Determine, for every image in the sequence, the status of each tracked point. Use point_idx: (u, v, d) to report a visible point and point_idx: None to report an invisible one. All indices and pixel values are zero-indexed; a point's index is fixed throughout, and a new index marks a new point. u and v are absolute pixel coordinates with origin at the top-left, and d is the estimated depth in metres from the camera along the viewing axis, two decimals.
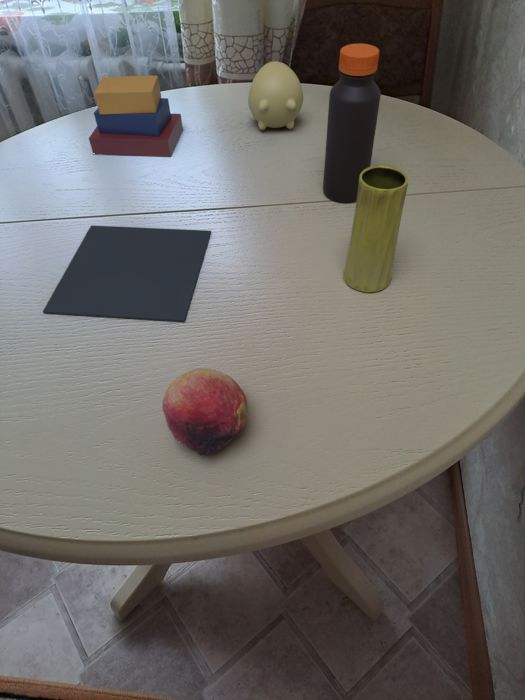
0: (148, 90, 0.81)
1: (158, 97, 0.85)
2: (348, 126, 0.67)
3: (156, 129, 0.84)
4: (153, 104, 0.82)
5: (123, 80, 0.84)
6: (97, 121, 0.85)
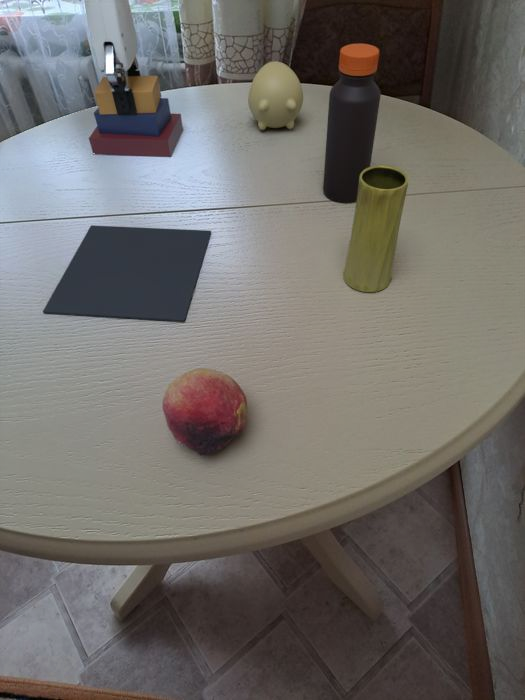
0: (148, 91, 0.81)
1: (158, 97, 0.85)
2: (348, 126, 0.67)
3: (156, 129, 0.84)
4: (153, 104, 0.82)
5: None
6: (97, 121, 0.85)
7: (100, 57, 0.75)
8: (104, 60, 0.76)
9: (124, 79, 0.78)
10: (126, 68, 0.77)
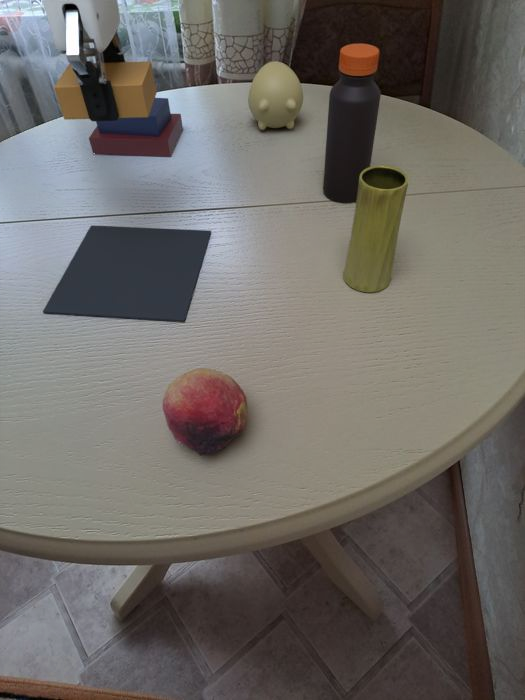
0: (136, 84, 0.53)
1: (152, 94, 0.58)
2: (348, 126, 0.67)
3: (156, 129, 0.84)
4: (144, 104, 0.55)
5: None
6: (97, 121, 0.85)
7: (58, 30, 0.48)
8: (65, 35, 0.48)
9: (98, 65, 0.50)
10: (100, 48, 0.49)
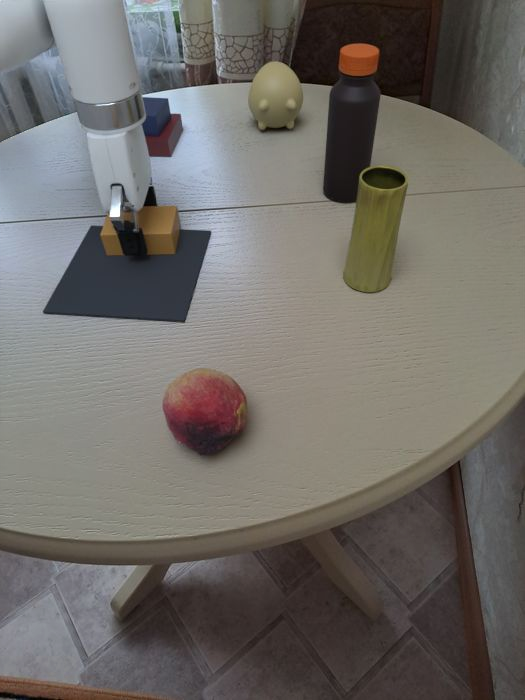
0: (167, 232, 0.66)
1: (177, 231, 0.70)
2: (348, 126, 0.67)
3: (156, 129, 0.84)
4: (172, 246, 0.67)
5: None
6: None
7: (106, 199, 0.60)
8: None
9: (133, 219, 0.62)
10: (138, 209, 0.62)
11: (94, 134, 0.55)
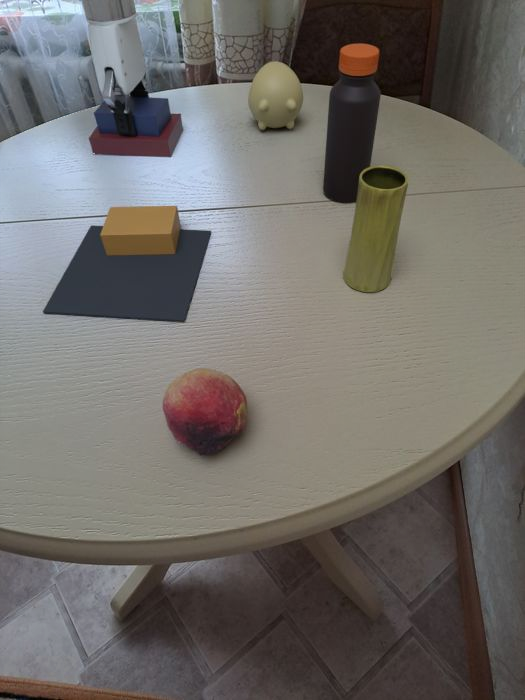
0: (167, 232, 0.66)
1: (177, 231, 0.70)
2: (348, 126, 0.67)
3: (156, 129, 0.84)
4: (172, 246, 0.67)
5: (135, 213, 0.69)
6: (97, 121, 0.85)
7: (101, 81, 0.78)
8: None
9: (124, 102, 0.81)
10: (126, 92, 0.80)
11: (93, 24, 0.74)
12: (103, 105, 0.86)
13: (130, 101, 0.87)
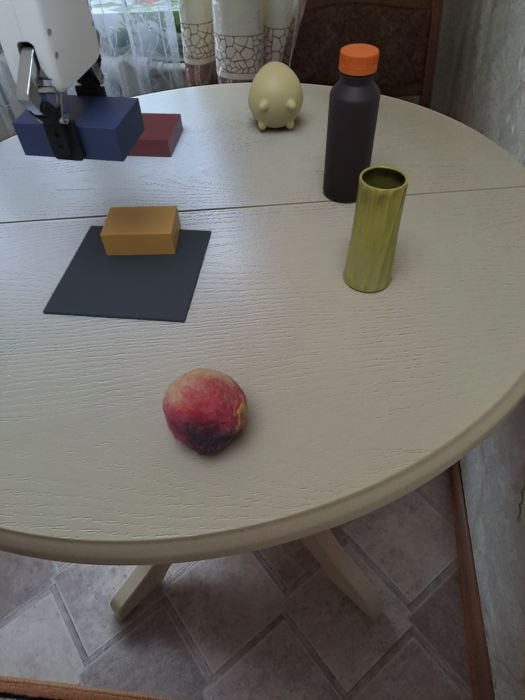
0: (167, 232, 0.66)
1: (177, 231, 0.70)
2: (348, 126, 0.67)
3: (118, 150, 0.50)
4: (172, 246, 0.67)
5: (135, 213, 0.69)
6: (20, 137, 0.51)
7: (15, 67, 0.44)
8: None
9: (58, 105, 0.47)
10: (61, 88, 0.46)
11: None
12: None
13: (76, 103, 0.53)
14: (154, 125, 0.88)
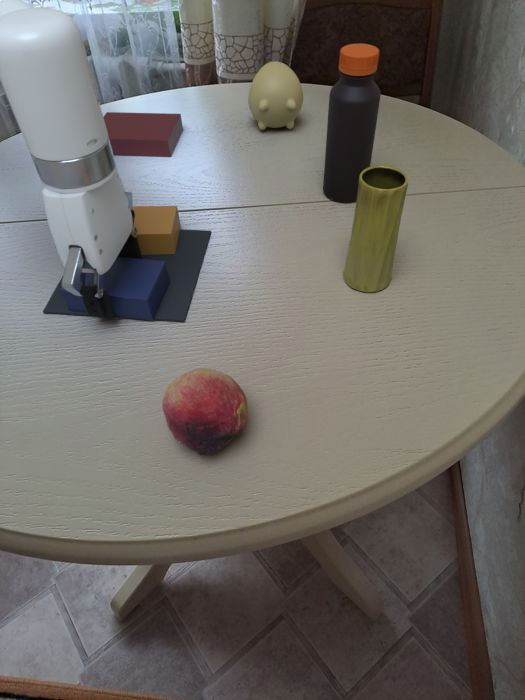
0: (167, 232, 0.66)
1: (177, 231, 0.70)
2: (348, 126, 0.67)
3: (149, 313, 0.59)
4: (172, 246, 0.67)
5: (135, 213, 0.69)
6: (65, 299, 0.60)
7: (66, 259, 0.53)
8: None
9: (96, 283, 0.54)
10: (102, 273, 0.54)
11: (50, 191, 0.48)
12: None
13: (112, 266, 0.62)
14: (154, 125, 0.88)
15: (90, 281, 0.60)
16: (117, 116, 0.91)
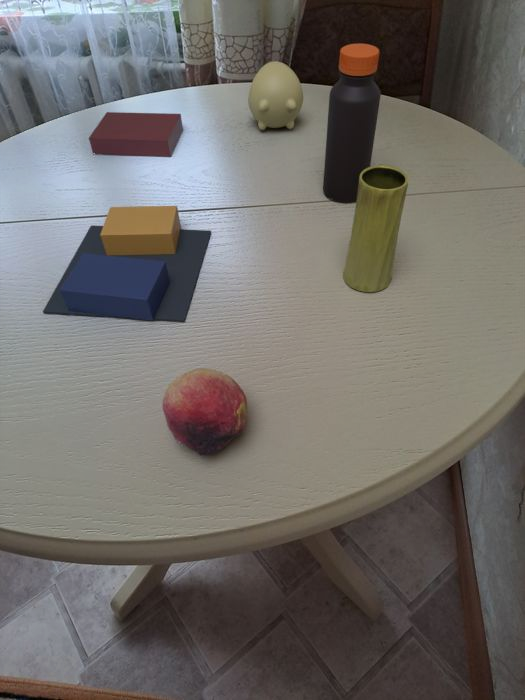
0: (167, 232, 0.66)
1: (177, 231, 0.70)
2: (348, 126, 0.67)
3: (149, 313, 0.59)
4: (172, 246, 0.67)
5: (135, 213, 0.69)
6: (65, 299, 0.60)
7: None
8: None
9: None
10: None
11: None
12: (74, 274, 0.61)
13: (112, 266, 0.62)
14: (154, 125, 0.88)
15: (90, 281, 0.60)
16: (117, 116, 0.91)
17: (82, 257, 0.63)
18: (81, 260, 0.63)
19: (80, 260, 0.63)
